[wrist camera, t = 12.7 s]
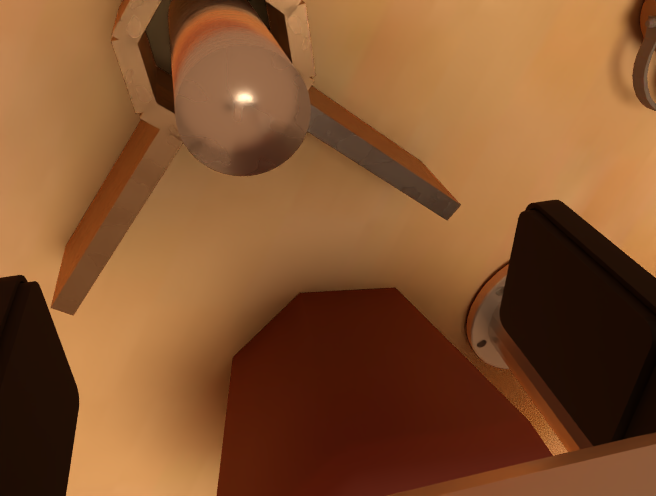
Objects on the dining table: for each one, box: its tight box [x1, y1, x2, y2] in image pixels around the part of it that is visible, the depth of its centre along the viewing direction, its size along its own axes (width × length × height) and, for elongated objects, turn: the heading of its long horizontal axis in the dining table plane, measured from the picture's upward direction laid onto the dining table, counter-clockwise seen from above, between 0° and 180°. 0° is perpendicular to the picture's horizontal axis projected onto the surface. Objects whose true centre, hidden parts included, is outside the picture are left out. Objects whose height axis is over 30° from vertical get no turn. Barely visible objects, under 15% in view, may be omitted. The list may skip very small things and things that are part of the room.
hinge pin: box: [168, 0, 311, 176], centre depth 24 cm, size 4×4×14 cm
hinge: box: [51, 0, 461, 315], centre depth 32 cm, size 20×20×6 cm
